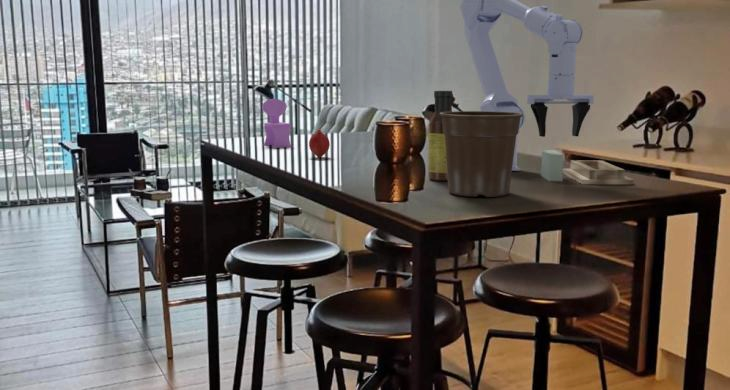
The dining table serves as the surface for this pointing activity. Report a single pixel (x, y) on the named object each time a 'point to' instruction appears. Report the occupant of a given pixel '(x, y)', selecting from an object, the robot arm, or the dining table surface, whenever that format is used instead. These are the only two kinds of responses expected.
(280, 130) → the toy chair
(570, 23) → the robot arm
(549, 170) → the pale teal block
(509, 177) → the plant pot
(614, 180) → the beige rectangular tray
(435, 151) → the sauce bottle
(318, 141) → the onion
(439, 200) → the dining table surface
